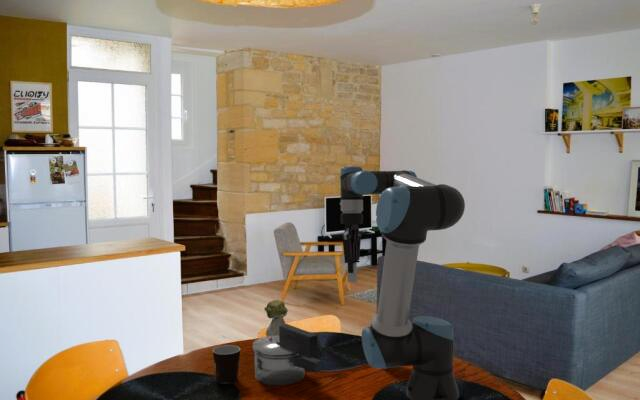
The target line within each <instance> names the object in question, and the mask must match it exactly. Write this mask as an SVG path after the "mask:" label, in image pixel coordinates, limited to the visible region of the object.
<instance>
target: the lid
mask: <svg viewBox="0 0 640 400" xmlns="http://www.w3.org/2000/svg"><path fill="white" fill-rule="evenodd" d="M252 351H253V352H254V351H255V352H256V353H258V354H262V355H266V356H289V355H294V354H300V355H303V356H305V357H307V358H317V357H318V334H315V333H313V332H310V331H308V330H304V329H302V328H300V327H296V326H293V325H291V324H288V323H286V324H285V325H281V326H279V335H274V336H267V335H266V336H263V337H259V338H258V339H256V340H254V341H253V343H252Z"/></svg>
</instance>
